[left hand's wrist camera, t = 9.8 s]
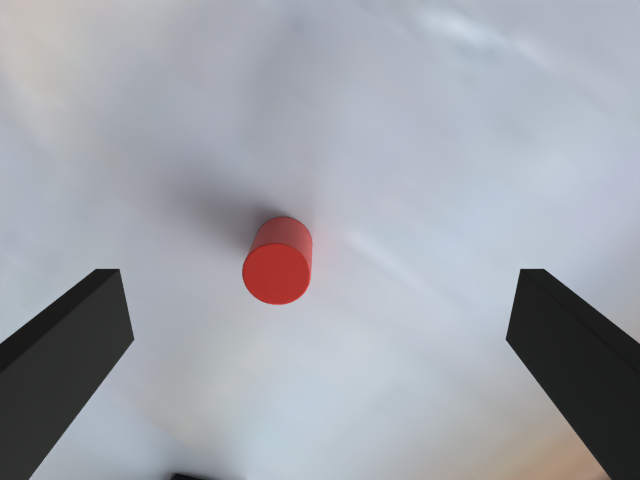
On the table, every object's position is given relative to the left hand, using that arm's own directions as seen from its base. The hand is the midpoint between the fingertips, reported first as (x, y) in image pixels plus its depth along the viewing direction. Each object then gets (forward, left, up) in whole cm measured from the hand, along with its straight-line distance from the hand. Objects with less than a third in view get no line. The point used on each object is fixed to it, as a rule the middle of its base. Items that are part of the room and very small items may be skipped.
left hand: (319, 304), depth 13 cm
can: (+2, -3, -13) cm, 13 cm away
